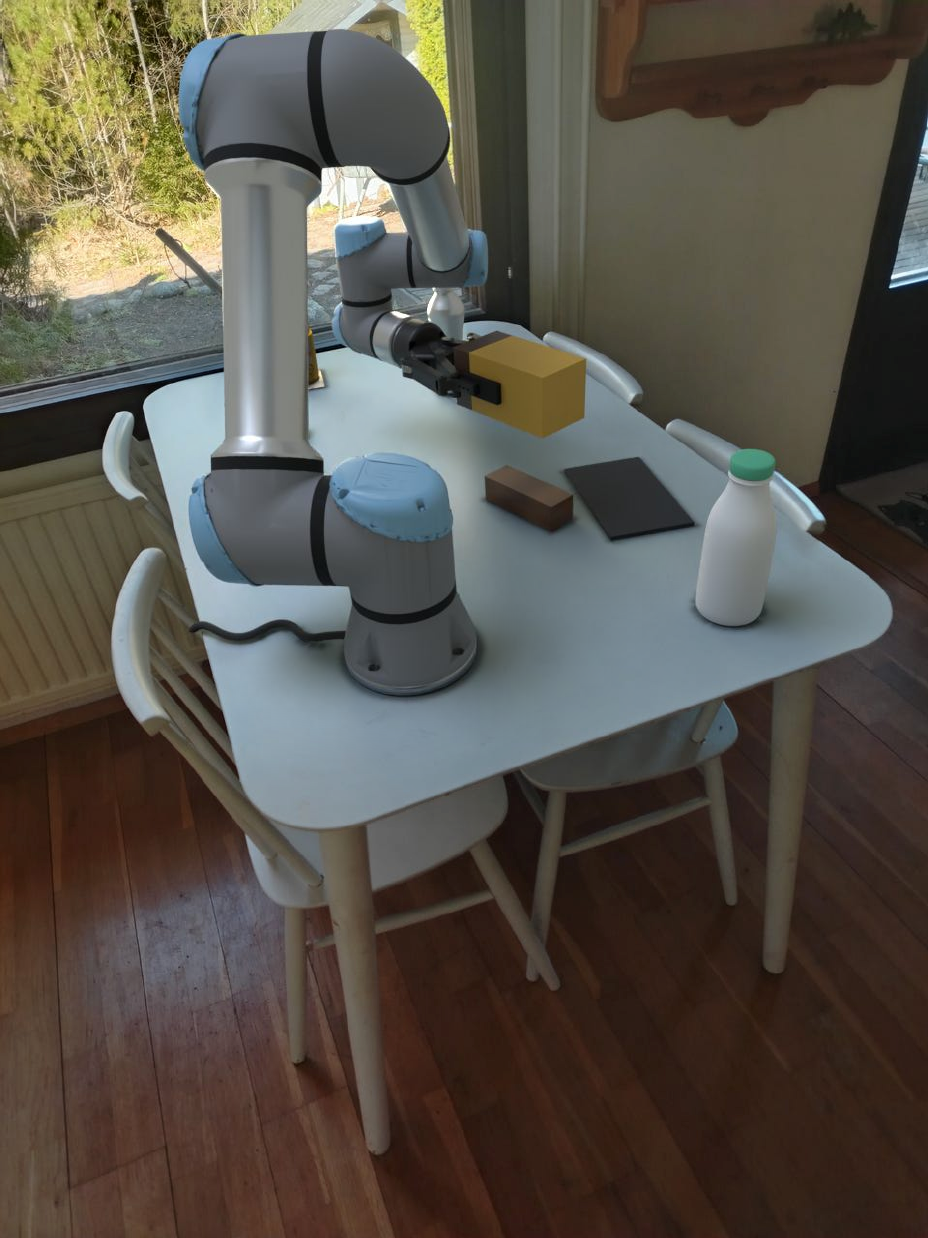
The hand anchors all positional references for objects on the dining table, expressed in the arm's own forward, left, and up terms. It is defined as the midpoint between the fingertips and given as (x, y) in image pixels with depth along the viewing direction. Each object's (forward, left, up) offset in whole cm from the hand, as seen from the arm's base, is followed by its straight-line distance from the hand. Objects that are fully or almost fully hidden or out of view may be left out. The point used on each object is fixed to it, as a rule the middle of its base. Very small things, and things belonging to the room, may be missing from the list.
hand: (522, 383), depth 111 cm
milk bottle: (+17, -30, -19) cm, 39 cm away
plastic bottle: (-1, +44, -19) cm, 48 cm away
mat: (+15, -2, -19) cm, 24 cm away
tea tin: (0, +1, -4) cm, 4 cm away
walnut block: (0, -1, -19) cm, 19 cm away
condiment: (-27, +58, -19) cm, 67 cm away
